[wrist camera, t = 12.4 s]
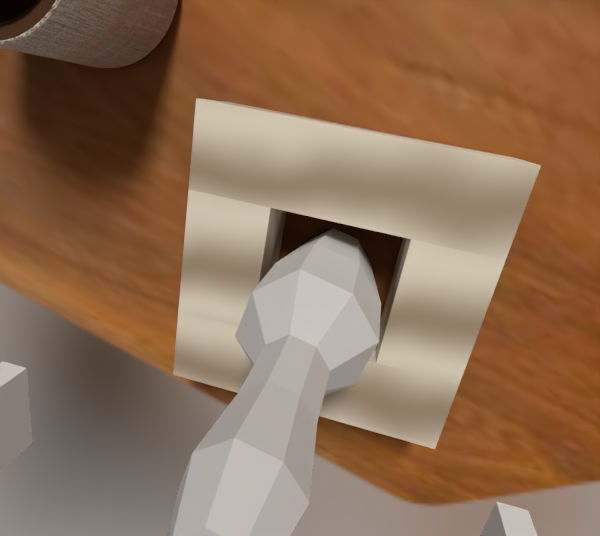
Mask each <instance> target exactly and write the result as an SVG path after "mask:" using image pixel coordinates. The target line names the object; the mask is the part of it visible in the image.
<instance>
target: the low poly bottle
mask: <svg viewBox="0 0 600 536" xmlns="http://www.w3.org/2000/svg"><path fill="white" fill-rule="evenodd" d="M380 316H381V301H380V298H379V294H378V290H377V286H376V282H375V279H374V275H373V271H372V267H371V263H370V261H369V259H368V257H367V255H366V253H365V252H364V250H363V248H362V246H361V244H360V242H359V240H358V239H356V238H354V237H352V236H350V235H347V234H345V233H343V232H341V231H339V230H337V229H334V228H333V229H331V230H329V231H327V232H325V233H323V234H321V235H319V236H317V237H315V238H313V239H311V240H309V241H308V242H306V243H305V244H303V245H302V246H300V247H299V248H297V249H296V250H294V251H293V252H291V253H290V254H288V255H287V256H285V257H284V258H282V259H281V260H280V261H278V262H277V263H275V264H274V266H273V267H272V268H271V269H270V271H269V272H268V273H267V274H266V276H265V277H264V278H263V279H262V280H261V282H260V283H259V284H258V285H257V287H256V288H255V289H254V290H253V292H252V294H251V296H250V299H249V301H248V304H247V306H246V309H245V311H244V314H243V316H242V319H241V321H240V324H239V326H238V329H237V331H236V334H235V337H236V339H237V341H238V342H239V344H240V345H241V347H242V349H243V350H244V352H245V353H246V355H247V357H248V358H249V360H250V361H251V363H252V365H253V368H252V369H251V371H250V373H249V375H248V377H247V378H246V380H245V382H244V384H243V385H242V387H241V389H240V391H239V392H238V394H237V395H236V396H235V398H234V399H233V400H232V402H231V403H230V404H229V405H228V407H227V408H226V409H225V411H224V412H223V413H222V415H221V416H220V417H219V419H218V420H217V421H216V423H215V424H214V425H213V427H212V428H211V429H210V431H209V432H208V433H207V434H206V436H205V437H204V439H203V440H202V441H201V442H200V444H199V445H198V446H197V448H196V449H195V450H194V452H193V453H192V456H191V458H190V461H189V463H188V466H187V468H186V471H185V473H184V476H183V478H182V481H181V483H180V485H179V489H178V493H177V498H176V502H175V506H174V511H173V515H172V519H171V524H170V528H169V533H168V536H290V535H291V533H292V531H293V530H294V528H295V526H296V524H297V523H298V521H299V520H300V518H301V516H302V514H303V513H304V511H305V509H306V508H307V506H308V504H309V502H310V492H311V482H312V471H313V461H314V451H315V441H316V431H317V423H318V418H319V414H320V410H321V406H322V402H323V398H324V395H327V394H330V393H333V392H335V391H338V390H341V389H344V388H347V387H349V386H352V385H355V384H356V382H357V380H358V378H359V377H360V375H361V373H362V371H363V369H364V368H365V366H366V364H367V362H368V361H369V359H370V357H371V355H372V353H373V352H374V350H375V348H376V346H377V345H378V343H379V334H380Z"/></svg>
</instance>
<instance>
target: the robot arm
mask: <svg viewBox="0 0 600 536" xmlns="http://www.w3.org/2000/svg"><path fill="white" fill-rule="evenodd" d="M31 443H32V432H31V420H30V406H29V392H28V379H27V368H24V367H21V366H17V365H14V364H10V363H7V362H1V363H0V472H1V471H2V470H3V469H4V468H5V467H6V466H7V465H8V464H9V463H11V462H12V461H13V460H14V459H15V458H16V457H17V456H18V455H19V454H20V453H21V452H22V451H23V450H24V449H26V448H27V447H28V446H29V445H30V444H31ZM480 536H537V534H536V532H535V529H534V526H533V523H532V520H531V517H530V515H529V512H528V510H525V509H521V508H518V507H514V506H511V505H507V504H503V503H500V502H496V504H495V506H494V508H493V510H492V512H491V515H490V516H489V518H488V520H487V523H486V525H485V527H484V529H483V531H482V533H481V535H480Z"/></svg>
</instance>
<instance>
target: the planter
mask: <svg viewBox="0 0 600 536" xmlns="http://www.w3.org/2000/svg"><path fill="white" fill-rule="evenodd" d="M177 5H178V0H0V48H3V49H8V50H13V51H18V52H23V53H28V54H33V55H38V56H43V57H48V58H53V59H57V60H62V61H67V62H72V63H76V64H81V65H86V66H91V67H97V68H116V67H123V66H127V65H130V64H133V63H135V62H137V61H139V60H141V59H142V58H144V57H145V56H147V55H148V54H149V53H151V52H152V51H153V50H154V49H155V48H156V47H157V45H158V44H159V43H160V42H161V41H162V39H163V38H164V36H165V35H166V33H167V31H168V29H169V27H170V25H171V23H172V21H173V18H174V15H175V12H176V9H177Z"/></svg>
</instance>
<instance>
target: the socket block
mask: <svg viewBox="0 0 600 536" xmlns="http://www.w3.org/2000/svg"><path fill="white" fill-rule="evenodd" d="M540 167H541V165H537V164H534V163H531V162H527V161H524V160H521V159H517V158H514V157H509V156H504V155H499V154H493V153H488V152H483V151H478V150H473V149H468V148H463V147H457V146H452V145H447V144H442V143H437V142H432V141H426V140H421V139H416V138H411V137H406V136H401V135H396V134H390V133H385V132H380V131H375V130H370V129H365V128H359V127H354V126H349V125H344V124H339V123H334V122H329V121H323V120H318V119H313V118H308V117H303V116H298V115H293V114H287V113H282V112H277V111H272V110H267V109H262V108H256V107H251V106H246V105H241V104H236V103H231V102H223V101H215V100H206V99H197V98H196V107H195V119H194V131H193V143H192V155H191V167H190V179H189V191H188V203H187V215H186V227H185V239H184V251H183V263H182V275H181V287H180V299H179V311H178V323H177V335H176V347H175V359H174V371H173V375H176V376H180V377H183V378H187V379H190V380H194V381H197V382H201V383H205V384H208V385H212V386H215V387H219V388H222V389H226V390H229V391H233V392H236V393H238V392H239V391H240V389H241V387H242V385H243V384H244V382H245V380H246V378H247V377H248V375H249V373H250V371H251V369H252V368H253V365H252V363H251V361H250V360H249V358H248V357H247V355H246V353H245V352H244V350H243V349H242V347H241V345H240V344H239V342H238V341H237V339H236V337H235V334H236V331H237V329H238V326H239V324H240V321H241V319H242V316H243V314H244V311H245V309H246V306H247V304H248V301H249V299H250V296H251V294H252V292H253V290H254V289H255V288H256V287H257V285H258V284H259V283H260V282H261V280H262V279H263V278H264V277H265V276H266V274H267V273H268V272H269V271H270V269H271V268H272V267H273V266H274V264H275V263H277V262H278V261H279V256H280V250H281V244H282V238H283V233H284V227H285V221H286V215H287V211H288V212H292V213H296V214H301V215H305V216H310V217H314V218H319V219H323V220H328V221H332V222H337V223H341V224H345V225H350V226H354V227H359V228H363V229H368V230H372V231H377V232H381V233H386V234H390V235H394V236H399V237H403V239H402V243H401V247H400V250H399V254H398V257H397V261H396V265H395V268H394V272H393V276H392V279H391V283H390V286H389V290H388V294H387V297H386V301H385V305H384V308H383V312H382V315H381V319H380V334H379V343H378V345H377V346H376V348H375V350H374V352H373V353H372V355H371V357H370V359H369V361H368V362H367V364H366V366H365V368H364V369H363V371H362V373H361V375H360V377H359V378H358V380H357V382H356V384H355V385H352V386H349V387H347V388H344V389H341V390H338V391H335V392H333V393H330V394H327V395H324V398H323V402H322V406H321V410H320V414H319V416H320V417H324V418H327V419H331V420H334V421H338V422H341V423H345V424H348V425H352V426H355V427H359V428H362V429H366V430H369V431H373V432H376V433H380V434H383V435H387V436H390V437H394V438H397V439H401V440H405V441H408V442H412V443H415V444H419V445H422V446H426V447H429V448H433V449H435V448H436V445H437V442H438V440H439V437H440V434H441V432H442V429H443V426H444V424H445V421H446V418H447V416H448V413H449V410H450V408H451V405H452V402H453V400H454V397H455V394H456V392H457V389H458V386H459V384H460V381H461V378H462V376H463V373H464V370H465V368H466V365H467V362H468V359H469V357H470V354H471V351H472V349H473V346H474V343H475V341H476V338H477V335H478V333H479V330H480V327H481V325H482V322H483V319H484V317H485V314H486V311H487V309H488V306H489V303H490V301H491V298H492V295H493V293H494V290H495V287H496V285H497V282H498V279H499V276H500V274H501V271H502V268H503V266H504V263H505V260H506V258H507V255H508V252H509V250H510V247H511V244H512V242H513V239H514V236H515V234H516V231H517V228H518V226H519V223H520V220H521V218H522V215H523V212H524V210H525V207H526V204H527V202H528V199H529V196H530V193H531V191H532V188H533V185H534V183H535V180H536V177H537V175H538V172H539V169H540Z"/></svg>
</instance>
